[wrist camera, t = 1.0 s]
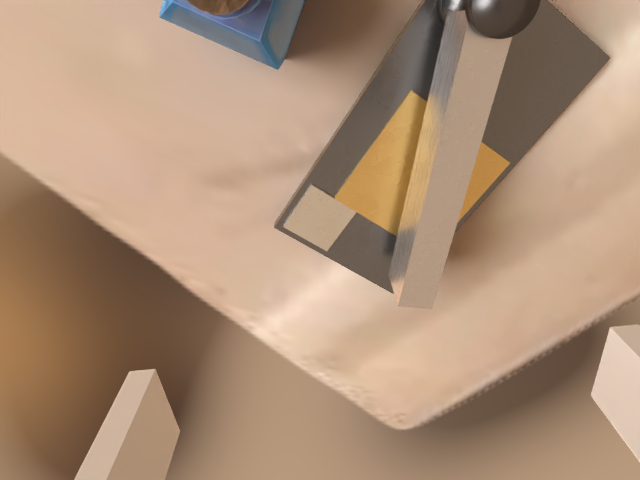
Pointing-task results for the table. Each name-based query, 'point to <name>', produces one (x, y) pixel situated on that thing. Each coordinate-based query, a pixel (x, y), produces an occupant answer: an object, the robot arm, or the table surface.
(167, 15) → the perfume bottle
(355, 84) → the table surface
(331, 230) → the tray
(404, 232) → the swing arm
